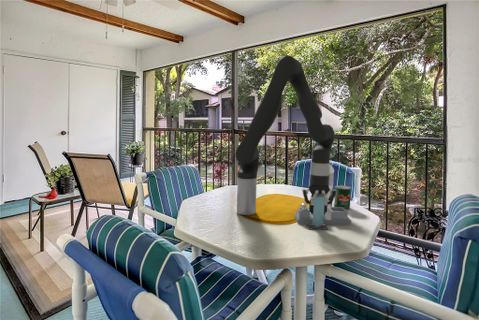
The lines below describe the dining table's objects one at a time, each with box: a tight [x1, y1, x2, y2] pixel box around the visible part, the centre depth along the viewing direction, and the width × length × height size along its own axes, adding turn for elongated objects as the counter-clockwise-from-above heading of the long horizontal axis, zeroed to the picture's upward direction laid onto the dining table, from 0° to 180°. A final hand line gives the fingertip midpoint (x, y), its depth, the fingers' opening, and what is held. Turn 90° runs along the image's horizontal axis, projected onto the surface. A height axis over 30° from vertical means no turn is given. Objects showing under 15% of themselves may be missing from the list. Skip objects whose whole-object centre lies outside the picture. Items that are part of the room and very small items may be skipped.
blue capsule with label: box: [312, 194, 325, 226], centre depth 124 cm, size 4×4×13 cm
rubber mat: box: [306, 224, 329, 231], centre depth 126 cm, size 8×5×1 cm, turn 88°
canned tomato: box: [333, 184, 352, 211], centre depth 154 cm, size 8×8×11 cm
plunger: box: [300, 202, 308, 210], centre depth 133 cm, size 3×3×5 cm
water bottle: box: [326, 163, 335, 207], centre depth 148 cm, size 7×7×25 cm
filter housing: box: [294, 206, 352, 226], centre depth 134 cm, size 23×9×6 cm, turn 88°
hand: (317, 213), depth 126 cm, fingers closed on blue capsule with label, 4 cm apart
